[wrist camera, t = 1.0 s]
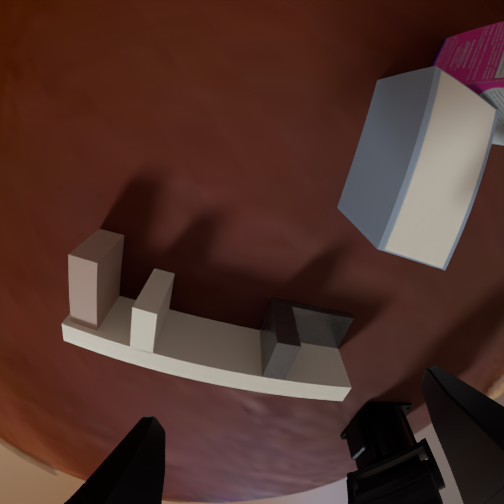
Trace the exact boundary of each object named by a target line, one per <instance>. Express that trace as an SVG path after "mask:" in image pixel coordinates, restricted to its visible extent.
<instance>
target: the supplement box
mask: <svg viewBox="0 0 504 504" xmlns="http://www.w3.org/2000/svg"><path fill="white" fill-rule="evenodd" d="M432 66H437V67H438V68H440V69H442V70H443V71H445V72H446V73H448V74H449V75H451V76H452V77H454V78H455V79H457V80H458V81H460V82H461V83H463V84H464V85H465V86H467V87H468V88H470V89H471V90H472V91H474V92H475V93H476V94H478V95H479V96H480V97H482V98H483V99H484V100H486V101H487V102H488V103H489V104H491V105H492V106H493V107H494V108H496V109H497V110H498V111H499V114H498V118H497V123H496V128H495V132H494V136H493V140H492V144H498V145H504V21H502V22H498V23H495V24H491V25H487V26H484V27H480V28H477V29H473V30H470V31H467V32H464V33H460V34H457V35H454V36H451V37H448V38H445V39H444V41H443V44H442V46H441V48H440V50H439V52H438V54H437V56H436V58H435V60H434V62H433V64H432ZM432 66H431V67H432Z"/></svg>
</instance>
